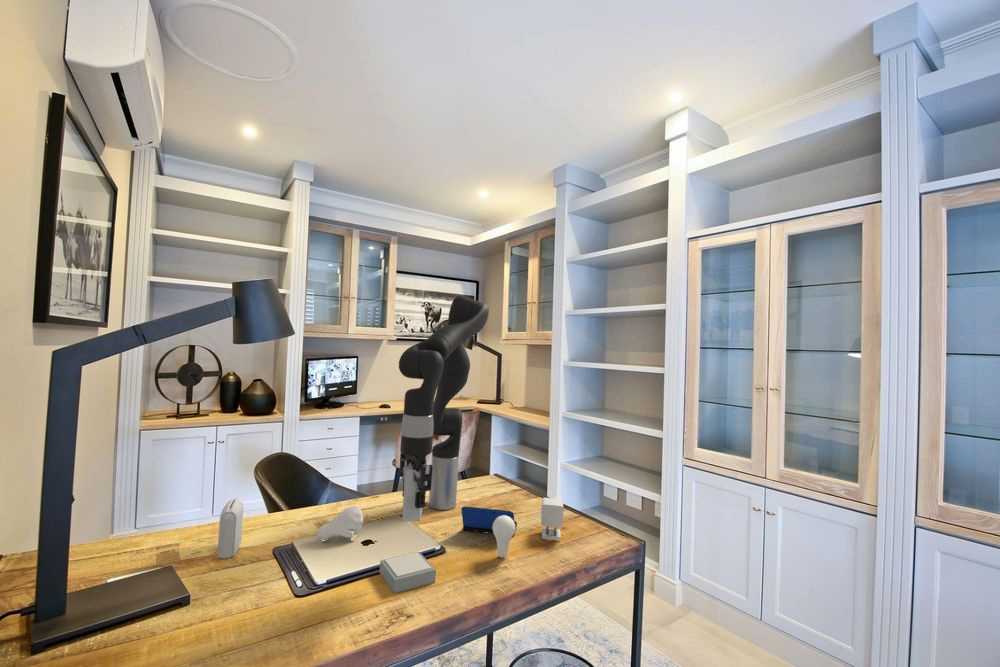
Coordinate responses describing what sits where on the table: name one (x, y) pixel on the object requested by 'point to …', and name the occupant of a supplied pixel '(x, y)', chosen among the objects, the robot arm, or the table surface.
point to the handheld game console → (482, 518)
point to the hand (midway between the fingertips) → (413, 502)
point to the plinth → (407, 572)
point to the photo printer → (230, 528)
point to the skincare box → (410, 497)
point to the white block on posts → (552, 518)
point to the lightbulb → (503, 533)
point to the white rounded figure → (343, 524)
